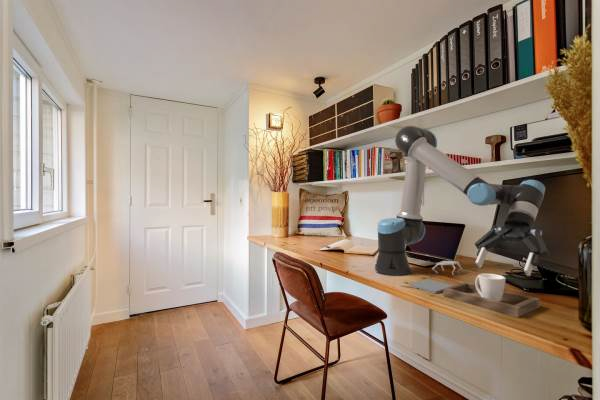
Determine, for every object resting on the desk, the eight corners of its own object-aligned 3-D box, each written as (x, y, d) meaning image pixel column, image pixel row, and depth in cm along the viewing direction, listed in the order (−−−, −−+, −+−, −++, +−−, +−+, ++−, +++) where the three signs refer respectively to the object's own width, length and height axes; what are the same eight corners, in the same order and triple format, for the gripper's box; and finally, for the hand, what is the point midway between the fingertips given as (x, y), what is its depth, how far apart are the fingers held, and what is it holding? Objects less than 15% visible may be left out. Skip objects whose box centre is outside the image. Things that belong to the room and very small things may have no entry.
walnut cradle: (443, 296, 94) (443, 288, 94) (466, 289, 101) (465, 282, 101) (518, 317, 76) (517, 308, 76) (539, 307, 83) (539, 298, 83)
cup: (490, 307, 84) (490, 279, 84) (466, 296, 94) (465, 271, 94) (512, 306, 84) (511, 278, 85) (486, 295, 94) (485, 270, 94)
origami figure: (446, 269, 129) (446, 258, 129) (463, 273, 122) (463, 262, 122) (427, 273, 124) (426, 261, 124) (443, 277, 117) (443, 265, 117)
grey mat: (408, 286, 106) (408, 283, 106) (427, 281, 112) (427, 279, 112) (435, 293, 97) (435, 291, 97) (454, 288, 103) (454, 285, 103)
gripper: (572, 227, 89) (555, 284, 81) (486, 223, 110) (465, 268, 102) (565, 210, 86) (546, 268, 78) (478, 210, 107) (456, 255, 99)
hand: (500, 269), depth 90 cm, fingers open, 13 cm apart
